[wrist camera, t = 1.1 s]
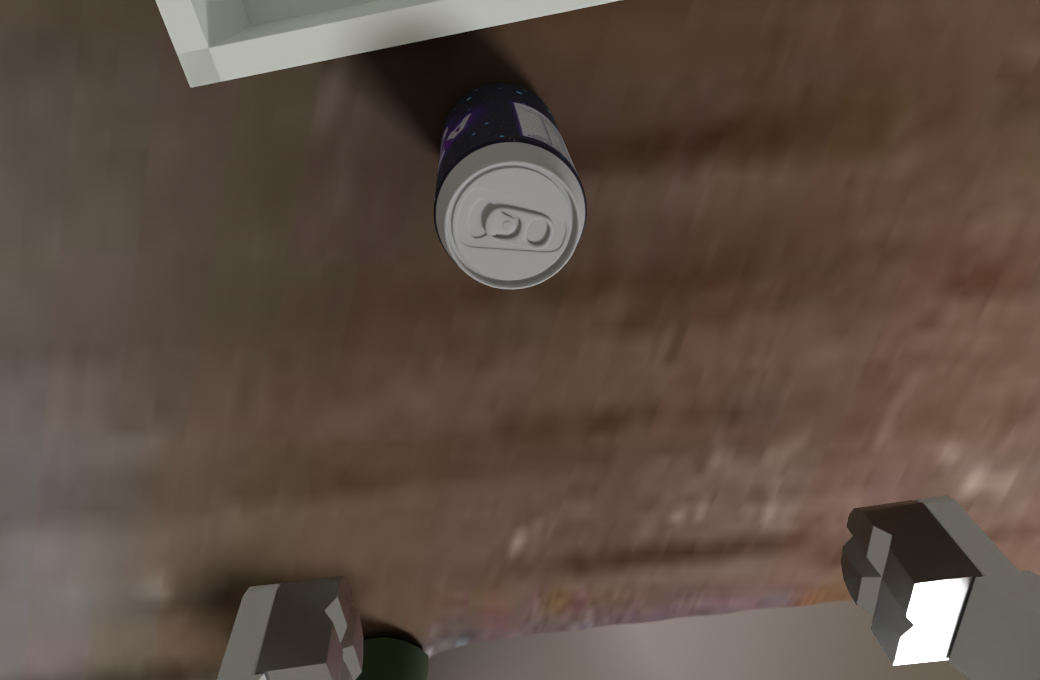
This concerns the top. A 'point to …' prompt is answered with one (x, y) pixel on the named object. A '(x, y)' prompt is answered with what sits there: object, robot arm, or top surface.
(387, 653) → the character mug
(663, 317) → the top surface
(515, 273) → the beverage can
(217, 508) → the top surface
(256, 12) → the crate
